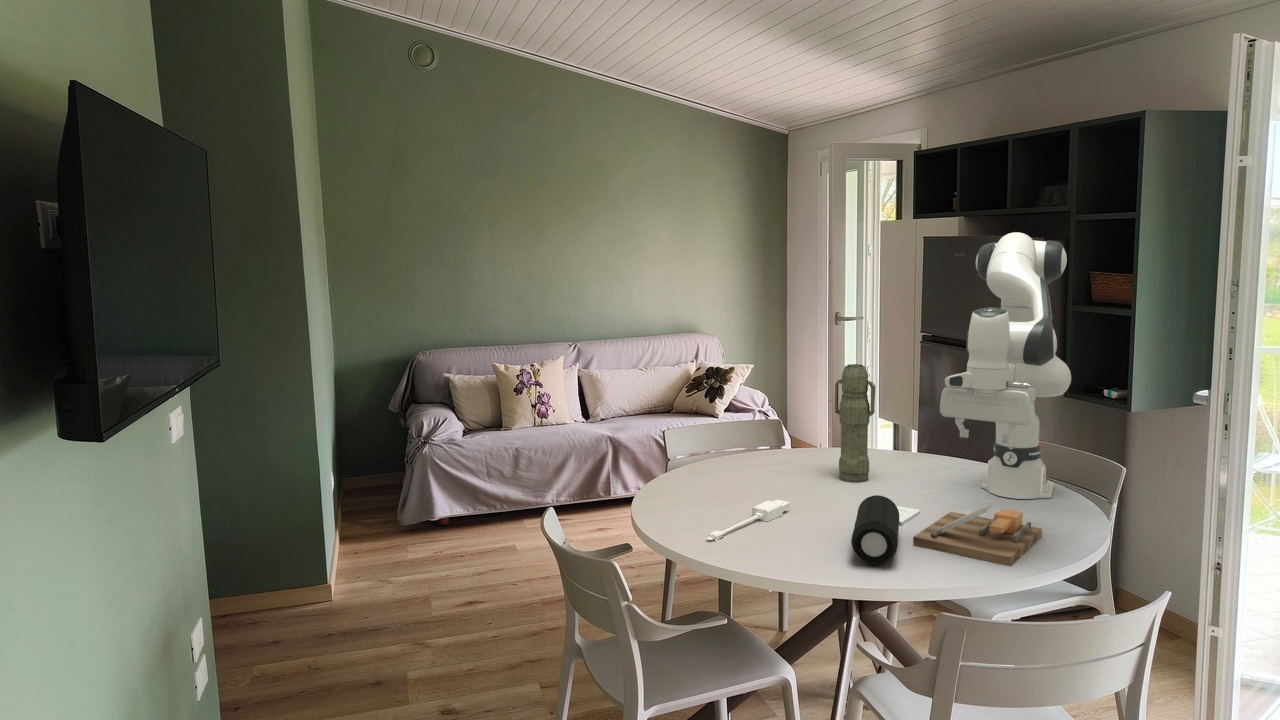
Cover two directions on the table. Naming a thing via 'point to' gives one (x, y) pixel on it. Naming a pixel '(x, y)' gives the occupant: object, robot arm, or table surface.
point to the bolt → (1006, 521)
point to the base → (978, 539)
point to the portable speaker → (876, 530)
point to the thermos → (854, 422)
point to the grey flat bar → (964, 519)
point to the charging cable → (758, 515)
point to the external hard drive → (906, 514)
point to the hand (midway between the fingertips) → (985, 440)
